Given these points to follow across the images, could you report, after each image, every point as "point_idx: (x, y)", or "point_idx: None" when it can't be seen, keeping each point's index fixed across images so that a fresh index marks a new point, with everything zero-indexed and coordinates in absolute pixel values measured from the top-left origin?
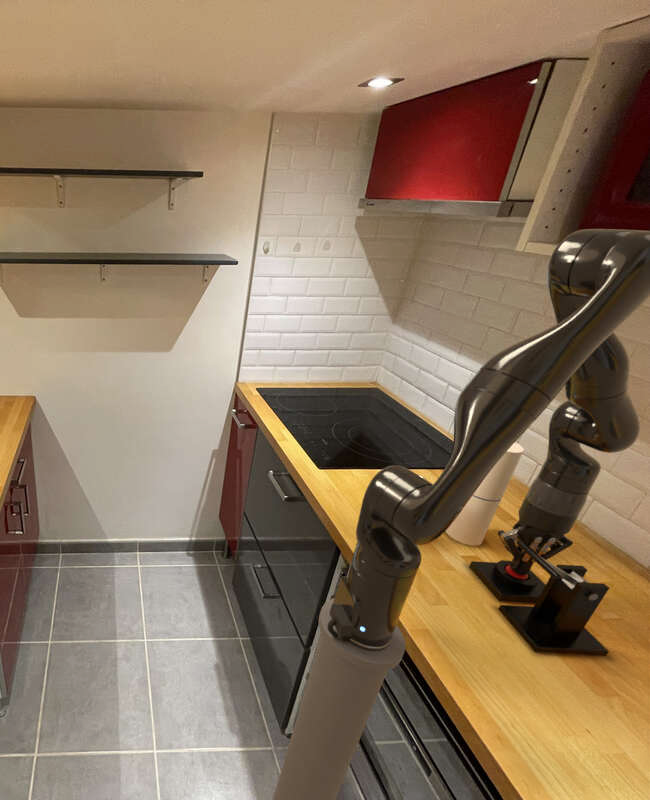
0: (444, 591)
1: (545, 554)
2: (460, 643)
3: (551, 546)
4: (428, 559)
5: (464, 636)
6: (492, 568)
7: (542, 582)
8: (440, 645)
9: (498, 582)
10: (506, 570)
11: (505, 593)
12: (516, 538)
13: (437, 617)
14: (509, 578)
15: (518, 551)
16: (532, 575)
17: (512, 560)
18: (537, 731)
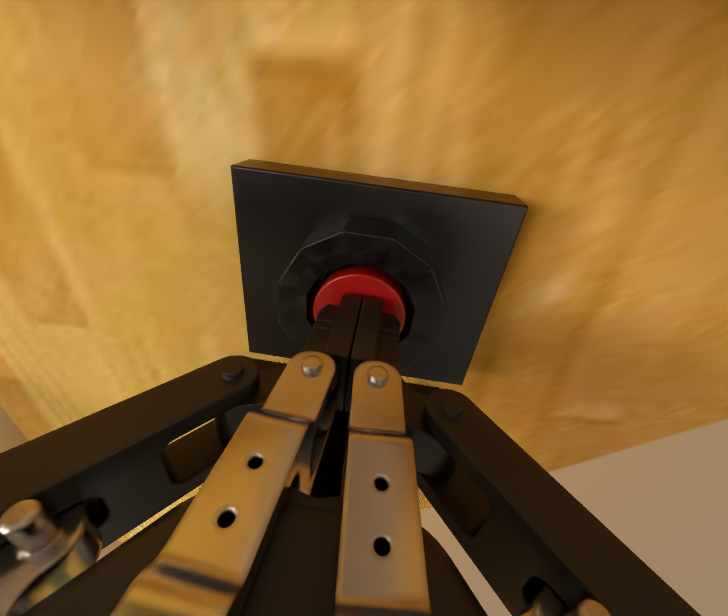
0: (90, 280)
1: (425, 488)
2: (88, 414)
3: (491, 549)
4: (59, 85)
5: (103, 404)
6: (311, 226)
7: (480, 322)
8: (42, 412)
9: (277, 304)
10: (315, 299)
11: (267, 349)
12: (229, 447)
13: (47, 357)
14: (291, 338)
15: (205, 476)
16: (420, 338)
17: (311, 332)
18: (160, 516)
